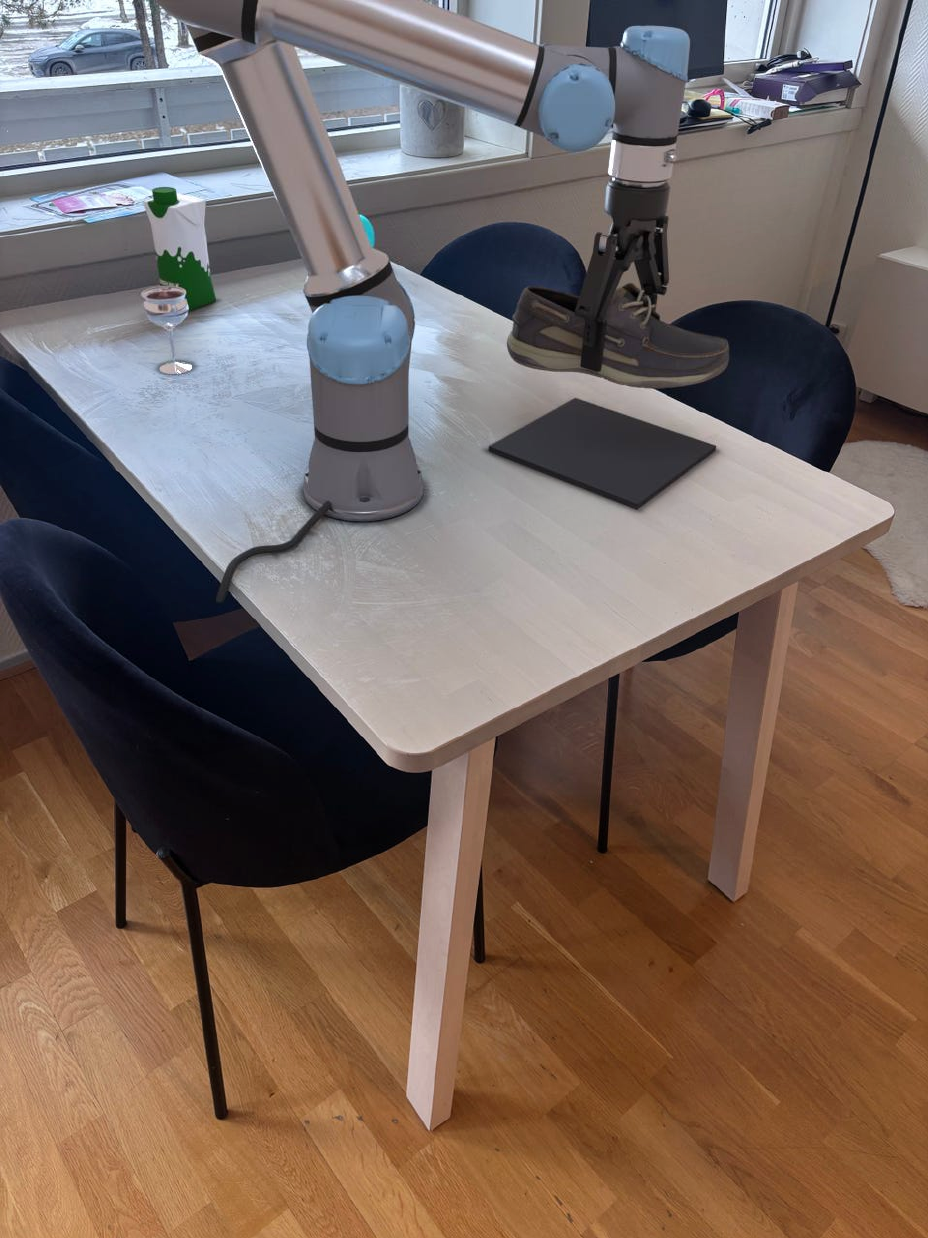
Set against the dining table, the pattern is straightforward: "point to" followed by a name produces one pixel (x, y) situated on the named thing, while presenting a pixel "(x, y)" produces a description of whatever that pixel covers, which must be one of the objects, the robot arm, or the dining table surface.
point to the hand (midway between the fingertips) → (616, 355)
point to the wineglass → (167, 317)
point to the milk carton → (181, 244)
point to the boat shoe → (613, 341)
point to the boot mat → (604, 451)
